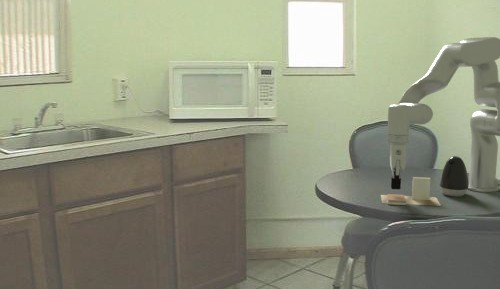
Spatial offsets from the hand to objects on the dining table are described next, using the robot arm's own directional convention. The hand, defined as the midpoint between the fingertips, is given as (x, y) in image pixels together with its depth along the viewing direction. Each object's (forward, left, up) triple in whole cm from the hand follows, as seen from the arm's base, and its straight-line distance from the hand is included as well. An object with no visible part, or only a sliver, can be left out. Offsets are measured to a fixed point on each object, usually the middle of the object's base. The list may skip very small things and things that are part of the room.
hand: (395, 188), depth 183 cm
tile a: (-9, -2, -4) cm, 10 cm away
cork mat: (-5, 0, -5) cm, 7 cm away
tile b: (0, -1, -3) cm, 4 cm away
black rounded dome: (-22, -12, -5) cm, 25 cm away
